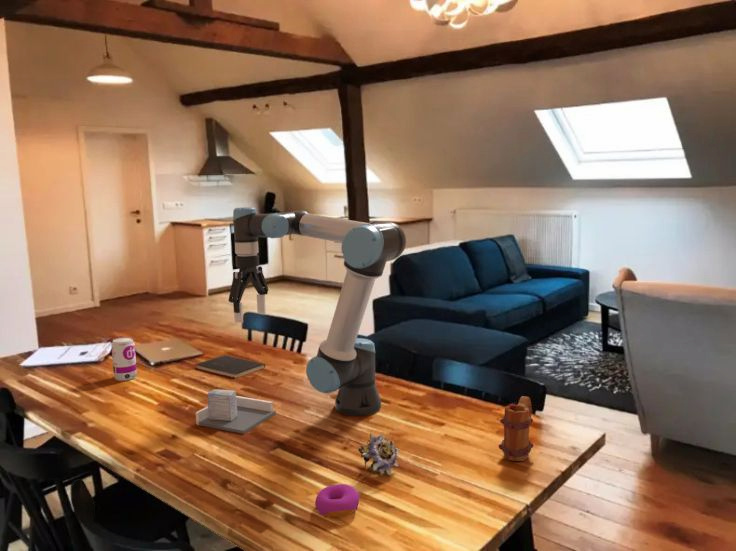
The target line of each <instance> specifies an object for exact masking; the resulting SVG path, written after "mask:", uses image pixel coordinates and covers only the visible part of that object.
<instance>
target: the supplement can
mask: <svg viewBox="0 0 736 551" xmlns="http://www.w3.org/2000/svg"><path fill="white" fill-rule="evenodd" d="M135 346H136V345H135V341H134V340H133V338H131V337H120V338H115V339H113V340H112V343H111V345H110V347H111V353H112V354H111V355H112V356H111V357H112V368H113V377H114V379H115V380H116V381H117V382H118V381H119V382H125V381H131V380H133V378H134V379H135V378H136V377H137V375H138V372H137V371H138V370H137V360H136V359H137V358H136V348H135Z"/></svg>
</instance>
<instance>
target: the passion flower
mask: <svg viewBox="0 0 736 551" xmlns="http://www.w3.org/2000/svg"><path fill="white" fill-rule="evenodd" d="M365 447H366V448H365ZM357 450H358V452H359V453H360V454H361V456H360V457H361V458H363V460H364V467H367V463H368V462H369V461H370V459H372V463H371V464H370V465H369V466H370V467H369V470H370V471H371V472H375V471H377V473H378V474H379V475H380V476H382V477H383V475H384V474H385V475H386V476H387V475H390V476H391V474H392V467H395V468H396V467H397V468H398V467H399V463H398V461H397V460H398V458H399V456H398V454H399V452H400V448H397V447H396V446H395V445H394V441H393V440H387V438H386V437H385V435H384V433H381V434H379V436H375V435H374V433H372V432H370V433H369V439H368V440H367V442H366V444H361V445H360V447H359V448H358V449H357Z"/></svg>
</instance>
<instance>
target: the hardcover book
mask: <svg viewBox="0 0 736 551" xmlns="http://www.w3.org/2000/svg"><path fill="white" fill-rule="evenodd" d="M195 366H196V369H198V370H203V371H206V372H209V373H210V372H211V373H215V374H218V375H223V376H225V375H226V377H229V376H230V378H233V377H234V378H233V379H236V378H239V377H242V376H246V375H248V374H251V373H253V372H256V371H260V370H262V369H265V368H266V364H265V363H262V362H258V361H254V360H249V359H245V358H240V357H237V356H233V355H227V354H223V355H221V356H218V357H214V358H210V359H207V360H205V361H201V362H198V363H195Z"/></svg>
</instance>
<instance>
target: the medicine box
mask: <svg viewBox="0 0 736 551" xmlns="http://www.w3.org/2000/svg"><path fill="white" fill-rule="evenodd" d="M206 395H207V406H208V413H209V419H211V420H223V421H232V420H234V419H235V418H236V417H237V416H238V415H237V401H236V396H237V393H236V390H230V389H218V388H217V389H216V388H214V389H212V390H211V391H210V392H207V394H206Z"/></svg>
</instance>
